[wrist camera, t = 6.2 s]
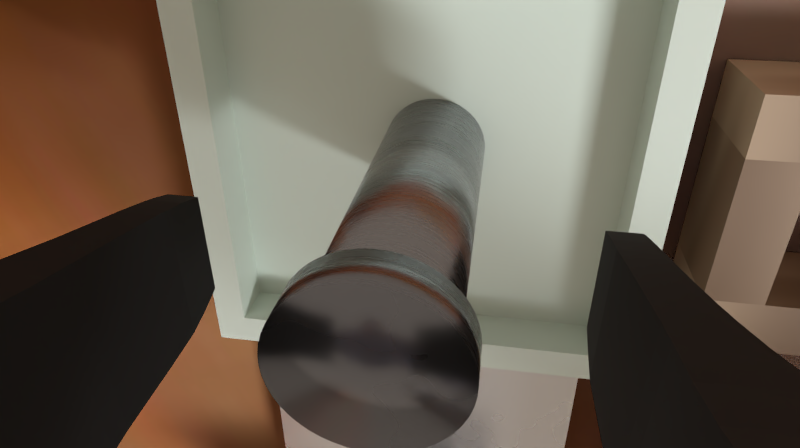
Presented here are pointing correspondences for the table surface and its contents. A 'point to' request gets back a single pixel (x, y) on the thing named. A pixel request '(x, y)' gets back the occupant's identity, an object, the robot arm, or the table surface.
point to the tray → (471, 89)
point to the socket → (750, 202)
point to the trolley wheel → (492, 414)
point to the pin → (389, 297)
